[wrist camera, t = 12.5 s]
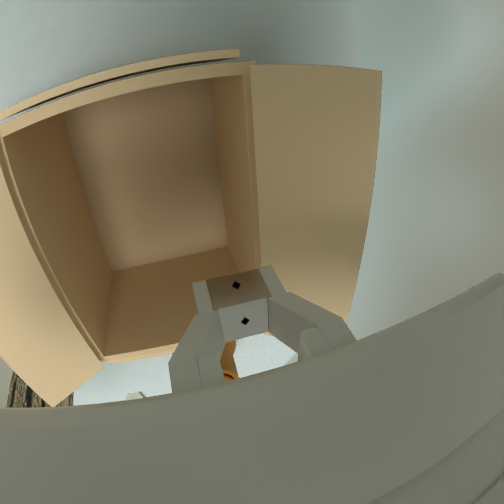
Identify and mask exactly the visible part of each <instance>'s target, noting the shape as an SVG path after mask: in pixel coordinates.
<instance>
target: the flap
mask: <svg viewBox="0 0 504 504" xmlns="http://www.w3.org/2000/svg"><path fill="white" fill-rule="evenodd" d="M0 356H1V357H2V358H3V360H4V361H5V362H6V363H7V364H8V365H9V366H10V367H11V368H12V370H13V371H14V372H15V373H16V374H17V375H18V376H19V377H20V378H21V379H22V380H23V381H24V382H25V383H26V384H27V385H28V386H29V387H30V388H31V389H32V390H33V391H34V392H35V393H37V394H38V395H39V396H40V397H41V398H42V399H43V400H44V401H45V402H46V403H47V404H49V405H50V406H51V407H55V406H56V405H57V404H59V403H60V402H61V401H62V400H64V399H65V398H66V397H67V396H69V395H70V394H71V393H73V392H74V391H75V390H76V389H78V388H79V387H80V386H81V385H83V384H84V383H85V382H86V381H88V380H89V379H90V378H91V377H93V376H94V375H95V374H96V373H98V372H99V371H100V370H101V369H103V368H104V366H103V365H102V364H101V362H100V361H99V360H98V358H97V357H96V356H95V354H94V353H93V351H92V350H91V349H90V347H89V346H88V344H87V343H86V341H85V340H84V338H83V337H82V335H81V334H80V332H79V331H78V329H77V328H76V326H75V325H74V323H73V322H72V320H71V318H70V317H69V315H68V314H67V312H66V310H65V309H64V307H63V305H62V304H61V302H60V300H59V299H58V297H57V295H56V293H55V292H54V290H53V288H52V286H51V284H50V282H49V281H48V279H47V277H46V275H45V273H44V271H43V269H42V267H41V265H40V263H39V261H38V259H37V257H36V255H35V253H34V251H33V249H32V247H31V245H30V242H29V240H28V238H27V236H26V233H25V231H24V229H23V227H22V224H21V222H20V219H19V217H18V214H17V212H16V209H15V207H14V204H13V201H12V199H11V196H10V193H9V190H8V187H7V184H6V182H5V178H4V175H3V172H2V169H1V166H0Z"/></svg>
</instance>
